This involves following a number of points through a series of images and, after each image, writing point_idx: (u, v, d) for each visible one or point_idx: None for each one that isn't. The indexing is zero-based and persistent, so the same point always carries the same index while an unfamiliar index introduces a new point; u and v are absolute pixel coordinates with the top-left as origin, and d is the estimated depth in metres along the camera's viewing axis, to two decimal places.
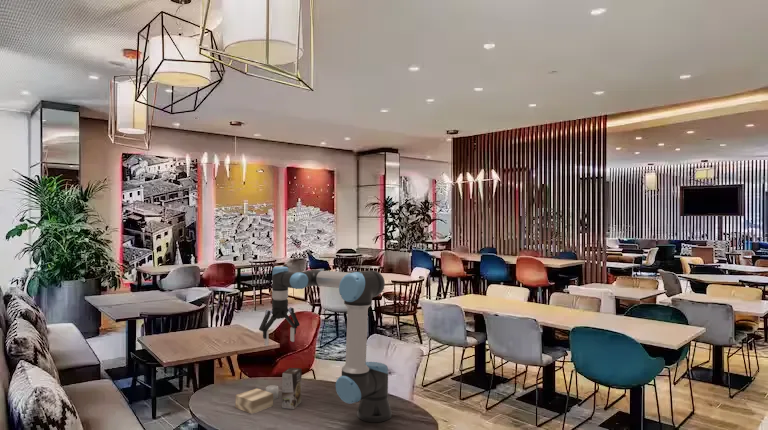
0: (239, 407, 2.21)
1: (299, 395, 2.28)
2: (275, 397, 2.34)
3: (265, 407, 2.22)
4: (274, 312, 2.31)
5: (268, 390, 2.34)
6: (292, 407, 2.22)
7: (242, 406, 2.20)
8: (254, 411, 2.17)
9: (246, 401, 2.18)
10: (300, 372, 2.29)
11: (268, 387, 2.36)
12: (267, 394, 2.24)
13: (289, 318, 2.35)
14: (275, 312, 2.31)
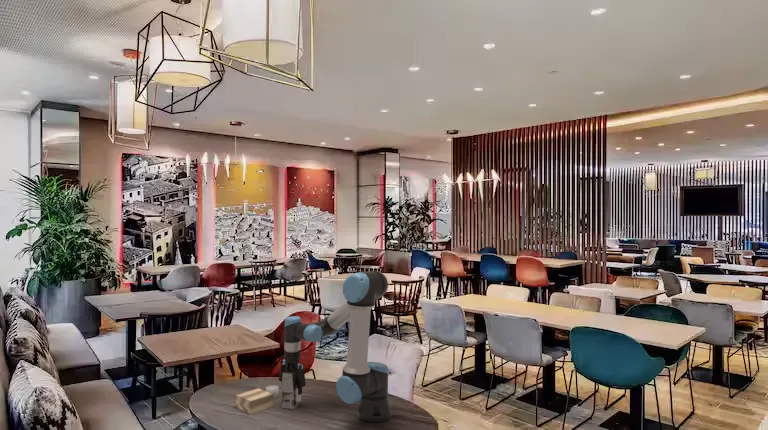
0: (239, 407, 2.22)
1: None
2: (275, 397, 2.34)
3: (264, 407, 2.21)
4: (285, 362, 2.28)
5: (268, 390, 2.34)
6: (292, 407, 2.22)
7: (242, 406, 2.20)
8: (253, 411, 2.17)
9: (245, 400, 2.18)
10: None
11: (268, 387, 2.36)
12: (266, 395, 2.24)
13: None
14: (286, 362, 2.28)
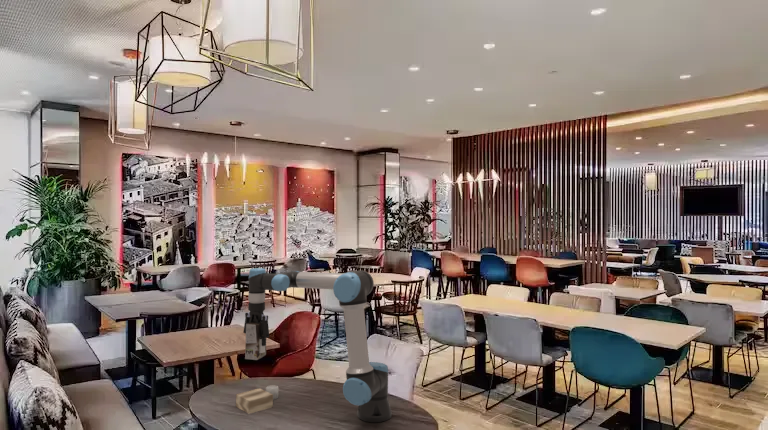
0: (239, 406, 2.22)
1: None
2: (275, 397, 2.34)
3: (264, 408, 2.21)
4: (250, 314, 2.26)
5: (268, 390, 2.34)
6: (255, 358, 2.20)
7: (241, 406, 2.20)
8: (252, 411, 2.17)
9: (244, 400, 2.19)
10: None
11: (268, 387, 2.36)
12: (266, 395, 2.23)
13: None
14: (250, 314, 2.26)
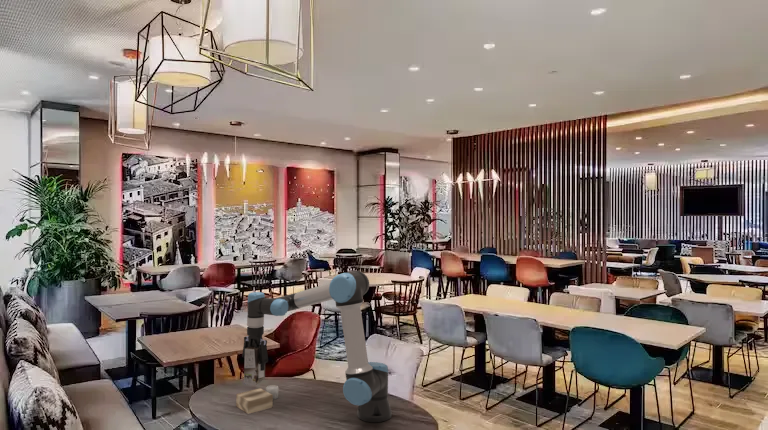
0: (239, 406, 2.22)
1: None
2: (275, 397, 2.34)
3: (263, 408, 2.21)
4: (248, 338, 2.26)
5: (268, 390, 2.34)
6: (254, 383, 2.20)
7: (241, 406, 2.21)
8: (251, 411, 2.17)
9: (244, 400, 2.19)
10: None
11: (268, 387, 2.36)
12: (266, 395, 2.23)
13: None
14: (249, 338, 2.26)
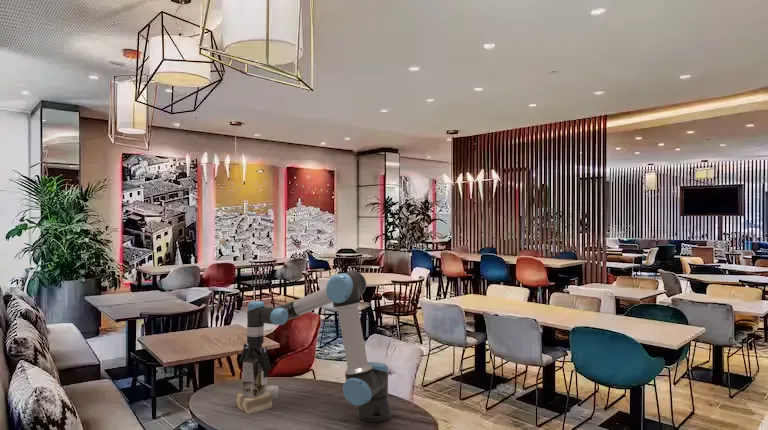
0: (239, 406, 2.23)
1: None
2: (275, 397, 2.34)
3: (263, 408, 2.21)
4: (248, 347, 2.26)
5: (268, 390, 2.34)
6: (253, 396, 2.19)
7: (241, 406, 2.21)
8: (250, 411, 2.17)
9: (243, 400, 2.19)
10: None
11: (268, 387, 2.36)
12: (265, 395, 2.23)
13: (259, 358, 2.21)
14: (249, 347, 2.25)
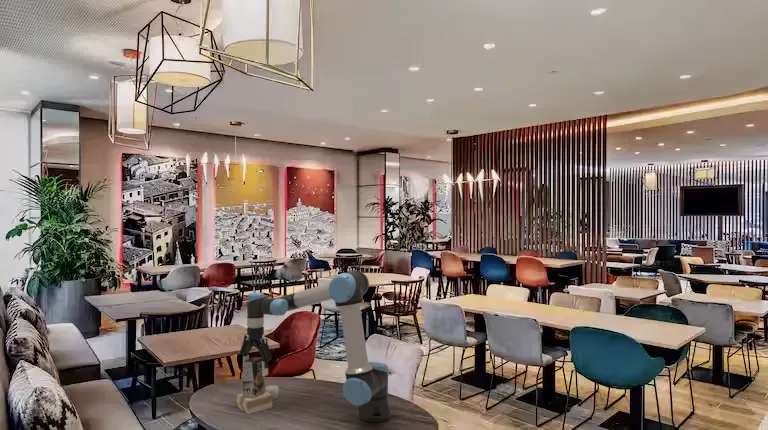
0: (239, 406, 2.23)
1: (261, 384, 2.25)
2: (275, 397, 2.34)
3: (263, 408, 2.21)
4: (248, 338, 2.26)
5: (268, 390, 2.34)
6: (253, 396, 2.19)
7: (241, 406, 2.21)
8: (250, 411, 2.17)
9: (243, 400, 2.19)
10: None
11: (268, 387, 2.36)
12: (265, 395, 2.23)
13: (259, 349, 2.21)
14: (249, 339, 2.25)
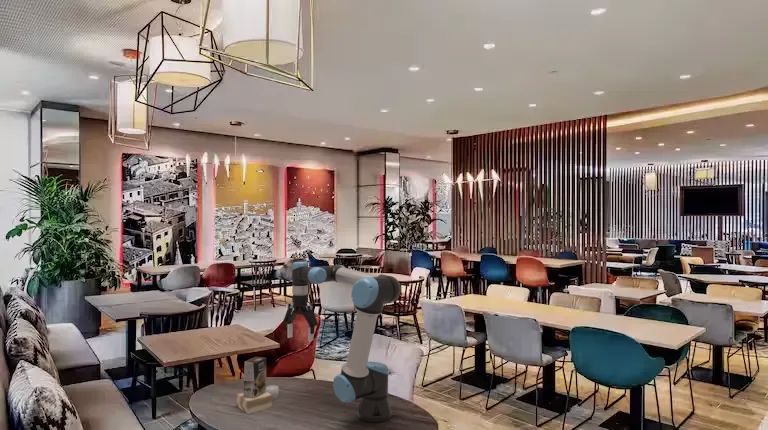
0: (239, 406, 2.23)
1: (262, 384, 2.25)
2: (275, 397, 2.34)
3: (263, 408, 2.21)
4: (293, 306, 2.33)
5: (268, 390, 2.34)
6: (253, 396, 2.19)
7: (241, 405, 2.21)
8: (250, 411, 2.17)
9: (243, 400, 2.19)
10: (264, 361, 2.26)
11: (268, 387, 2.36)
12: (265, 395, 2.23)
13: (305, 315, 2.28)
14: (294, 306, 2.33)
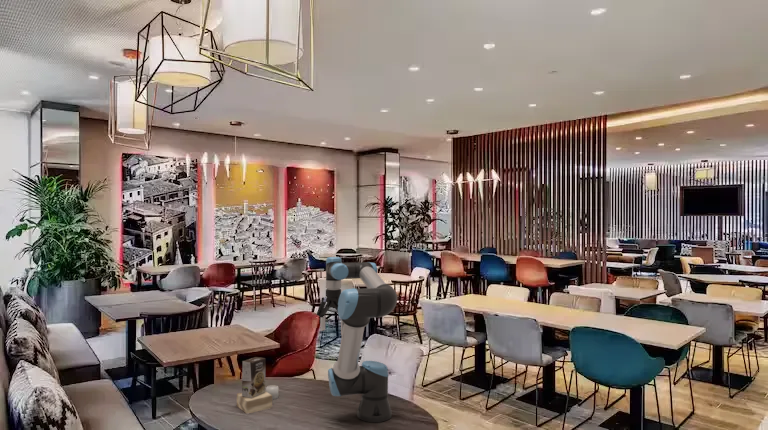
0: (239, 406, 2.23)
1: (261, 385, 2.24)
2: (275, 397, 2.34)
3: (263, 408, 2.20)
4: (326, 300, 2.39)
5: (268, 390, 2.34)
6: (250, 396, 2.19)
7: (241, 406, 2.21)
8: (250, 411, 2.17)
9: (243, 400, 2.19)
10: (263, 362, 2.26)
11: (268, 387, 2.36)
12: (265, 396, 2.22)
13: (338, 310, 2.34)
14: (327, 300, 2.39)
